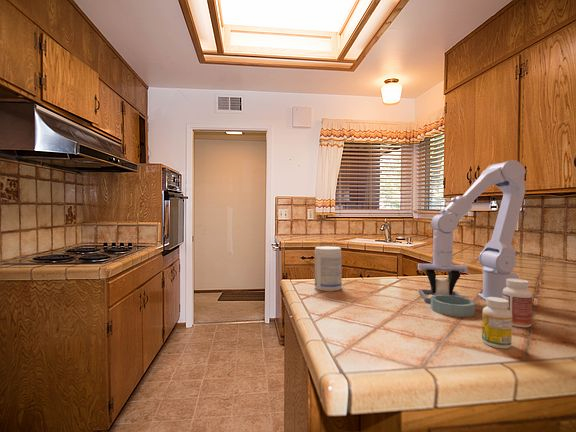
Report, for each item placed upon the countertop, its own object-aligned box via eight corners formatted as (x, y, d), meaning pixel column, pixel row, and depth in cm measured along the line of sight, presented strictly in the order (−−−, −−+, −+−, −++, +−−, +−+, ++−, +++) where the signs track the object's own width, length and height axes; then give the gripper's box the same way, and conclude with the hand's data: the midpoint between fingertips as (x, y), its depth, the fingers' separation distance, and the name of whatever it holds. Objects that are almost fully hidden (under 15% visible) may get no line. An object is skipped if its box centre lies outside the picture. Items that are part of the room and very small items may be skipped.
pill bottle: (536, 325, 80) (537, 281, 80) (525, 330, 77) (526, 284, 77) (508, 318, 85) (509, 276, 85) (497, 322, 82) (498, 279, 82)
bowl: (467, 306, 96) (467, 296, 95) (480, 318, 85) (480, 307, 85) (427, 303, 98) (427, 293, 98) (435, 314, 87) (436, 303, 87)
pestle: (447, 297, 105) (447, 279, 105) (450, 300, 101) (451, 281, 101) (432, 296, 106) (433, 278, 106) (435, 299, 102) (436, 281, 102)
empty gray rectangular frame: (456, 294, 108) (456, 291, 108) (468, 305, 96) (468, 301, 96) (418, 292, 111) (418, 288, 111) (425, 302, 99) (425, 298, 99)
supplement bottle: (509, 351, 65) (511, 304, 65) (479, 344, 68) (480, 299, 68) (512, 343, 69) (514, 299, 69) (483, 336, 73) (485, 294, 72)
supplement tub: (346, 288, 115) (347, 247, 114) (330, 293, 108) (330, 250, 108) (325, 284, 122) (326, 245, 121) (308, 288, 115) (309, 247, 115)
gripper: (420, 252, 101) (419, 295, 101) (471, 254, 98) (470, 298, 98) (417, 249, 108) (416, 289, 108) (464, 251, 105) (463, 292, 105)
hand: (441, 293), depth 104 cm, fingers closed on pestle, 4 cm apart
